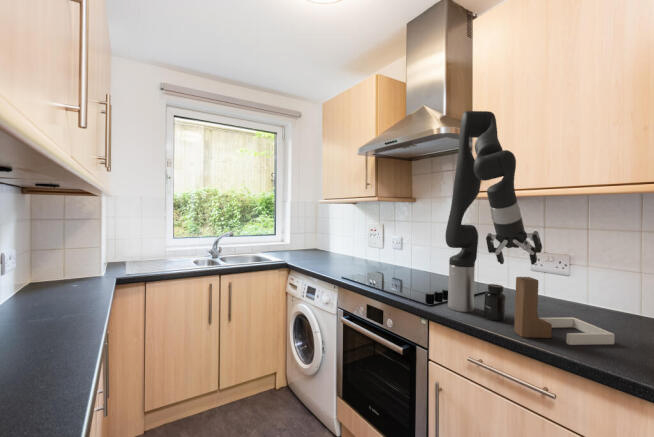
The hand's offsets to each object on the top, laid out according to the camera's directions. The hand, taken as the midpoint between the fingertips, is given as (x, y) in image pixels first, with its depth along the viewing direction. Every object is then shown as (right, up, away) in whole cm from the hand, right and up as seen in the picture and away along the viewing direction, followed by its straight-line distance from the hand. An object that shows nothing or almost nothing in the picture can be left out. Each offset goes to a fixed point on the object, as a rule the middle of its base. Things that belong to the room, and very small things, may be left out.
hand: (517, 263), depth 97 cm
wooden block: (+5, -23, 0) cm, 23 cm away
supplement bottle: (+1, -22, +15) cm, 27 cm away
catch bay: (+18, -23, +1) cm, 29 cm away
